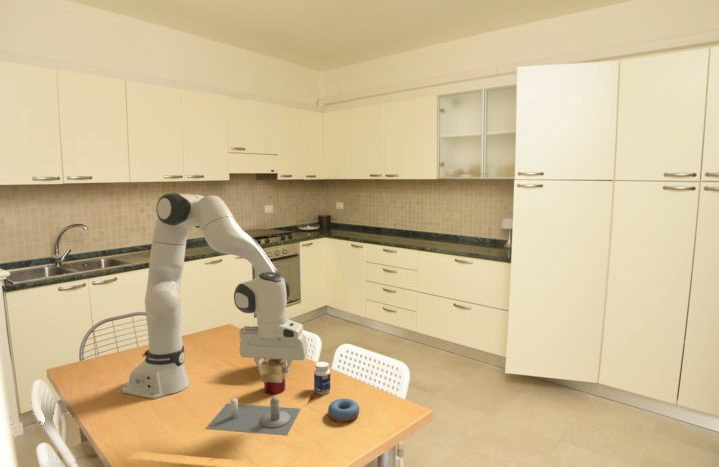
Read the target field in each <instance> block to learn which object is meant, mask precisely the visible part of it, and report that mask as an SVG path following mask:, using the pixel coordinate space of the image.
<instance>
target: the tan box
mask: <svg viewBox="0 0 719 467" xmlns="http://www.w3.org/2000/svg"><path fill="white" fill-rule="evenodd" d="M261 363H262V364H261V365H260V372H259V377H260V380H259V382H260V383H264V382H273V383H282V381H283V380H284V378H285V379H286V377H287V376H288V374H289V373H283V371H284V370H283V368H284V366H285V365H288V364H287V360H284V359H265V360H264V359H263V361H261Z"/></svg>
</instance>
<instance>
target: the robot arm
mask: <svg viewBox="0 0 719 467" xmlns="http://www.w3.org/2000/svg"><path fill="white" fill-rule="evenodd" d="M155 211H156V216H157V219H156V222H155V225H154V228H153V233H152V241H151V247H150V248H151V249H150V257H149V266H148V275H147V283H146V292H145V298H144V307H145V308H144V310H145V317H146V327H147V336H148V338H147V339H148V349H147V350H146V351H144V353H141V355H142V358H144V357H145V359H144V360H143V361H141V363H139V364H138V365H137V366H135V367H134V368H133V369H132V370H131V372H130V373H129V377H128V378H129V379H128V381H127V382H126V383H125V384H124V385H123V386H122V389H121V393H122V394H128V395H133V396H138V397H142V398H148V399H152V400H153V399H159V398H161V397H163V396H168V395H172V394H176V393H179V392H181V391H183V390H185V389H186V388H188V386H189V385H190V379H189V377H188V374H187V370H186V365H185V356H186V355H185V354H186V353H185V346H184V344H183V331H182V330H183V328H182V311H181V294H180V290H181V282H182V277H183V272H184V271H183V270H184V265H185V264H184V263H185V255H186V249H187V248H186V247H187V242H188V241H187V240H188V239H187V237H188V232H189V230H190V229H191V228H192V227H195V228H197V229H200V231H201V233H202V235H203V237H204V239H205V241H206V243H207V245H208V246H209V247H210V248H211V249H212V250H213V251H215V252H217V253H220V254H226V255H232V256H235V257H236V256H237V257H239V258H243V259H244V260H247V261H248V262H249V263H250V264H251V266H252V267H253V269H254V270H255V272H256V273H257V276H256V277H255V278H253V279H250V280H247V281H244V282H240V283H239V284H238V285H237V286H236V287H235V289H234V292H233V301H234V305H235V307H236V308H237V310H239V311H240V312H241V313H243V314H244V313H245V314H253V313H254V314H256V317H257V318H256V319H257V320H256V322H257V324H256V326H249V325H244V326H243V327H241V328H240V329H239V332H238V334H239V339H240V342H239V355H240V356H241V358H251V359H253V361H254V363H255V365H256V367H257V371H258V372H259V373H260V365H261V364H262V361H261V359H264V358H266V359H284V360H287V363H288V364H287V365H285V366H284V368H283V370H284V371H283V373H288V374H289V373H290V370H291V368H290V367H291V365H292V363H293V361H304V360H305V358H306V357H307V356H308V344H307V343H308V342H307V339H306V338H307V337H306V335H305V334H304V332H303V331H304V325H303V324H302V323H300V322H297V321H293V320H291V319H289V318H288V313H287V303H288V300H289V298H290V295H291V285H290V284H289V281H288V280H287V279H286V278H285V276H284V275H282V273H281V272H280V271H279V270H278V269H277V268H276V267H275V265H274V264H273V262H272V261H271V259H270V257H269V256H268V255H267V253H266V252H265V251H264V249H263V248H262V246H261V245H260V244H259V243H258V241H257V240H256V238H254V237H253V236H252V235H249V234H248V233H247V232H246V231H245V230H244V229H242V227H241V226H240V225H239V224H238V222H237V221H236V219H235V216H234V214H232V211H231V210H230V208H229V207H228V205H227V204H226V203H225V202H224V200H223V199H222V198H221V197H220V196H217V195H213V194H212V195H211V194H210V195H201V194H196V193H176V192H173V193H172V192H170V193H166V194H163V195H162V196H160V197H159V199H158V201H157V204H156V207H155Z"/></svg>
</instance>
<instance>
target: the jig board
mask: <svg viewBox="0 0 719 467" xmlns="http://www.w3.org/2000/svg"><path fill="white" fill-rule="evenodd" d="M238 401H239V400H238V398H232V399H230V403H226V404H225V405H224V406H223V407H222V408H221V410H220V411H219V412H218V413H217V414H216V415H215V417H214V418H213V419H212V420H211V421H210V422H209V423H208V425H207V426H206V427H205V428H204V430H210V431H211V430H214V431H225V432H226V431H227V432H239V433H240V432H241V433H250V434H251V433H252V434H263V435H264V434H265V435H276V436H288V435H289V432H290V430H291V428H293V425H294V423H295V422H296V420H297V417H298V416H299V414H300V411H301V409H302V408H298V407H297V408H295V407H285V406H284V407H282V406H280V399H279V398H278V397H277V396H272V398H271V399H270V401H269V402H270V405H267V406H266V405H253V404H243V403H242V404H239V402H238Z"/></svg>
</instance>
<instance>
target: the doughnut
mask: <svg viewBox="0 0 719 467" xmlns="http://www.w3.org/2000/svg"><path fill="white" fill-rule="evenodd" d="M327 412H328V415H329V418H330V419H332V420H333V421H335V422H338V423H348V422H351V421H354V420H355V419H356V418H357V417H358V416H359V414H360V406H359V404H358V403H357V402H356V401H355V400H353V399H350V398H338V399H335V400H334V401H332V402H331V403H330V404H329V405H328V410H327Z"/></svg>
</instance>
